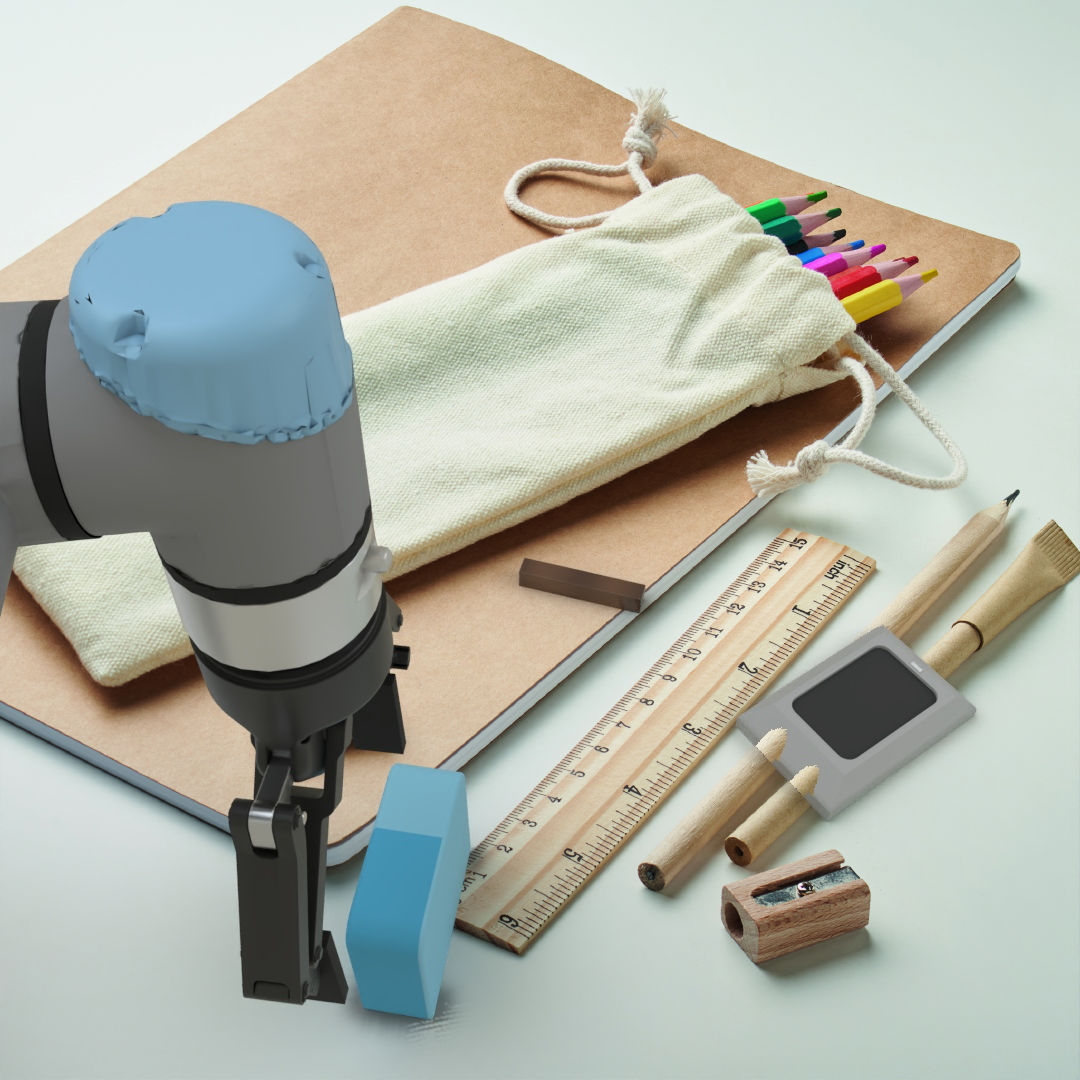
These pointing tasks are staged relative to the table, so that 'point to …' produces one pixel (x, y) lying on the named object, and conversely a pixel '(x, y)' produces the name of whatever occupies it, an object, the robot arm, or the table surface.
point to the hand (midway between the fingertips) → (352, 860)
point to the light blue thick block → (409, 890)
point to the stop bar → (582, 585)
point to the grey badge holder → (858, 718)
